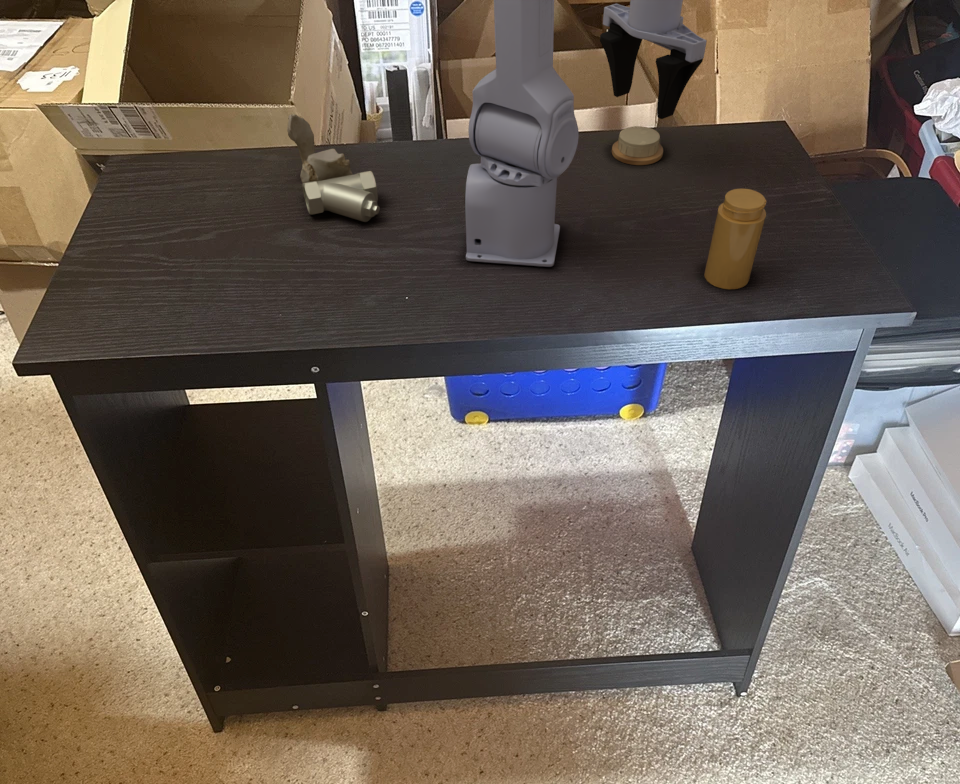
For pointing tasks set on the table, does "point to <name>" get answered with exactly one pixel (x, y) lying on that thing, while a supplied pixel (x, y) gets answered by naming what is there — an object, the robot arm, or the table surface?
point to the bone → (315, 154)
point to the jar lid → (638, 141)
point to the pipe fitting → (344, 196)
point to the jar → (735, 239)
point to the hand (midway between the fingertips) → (642, 105)
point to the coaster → (634, 160)
